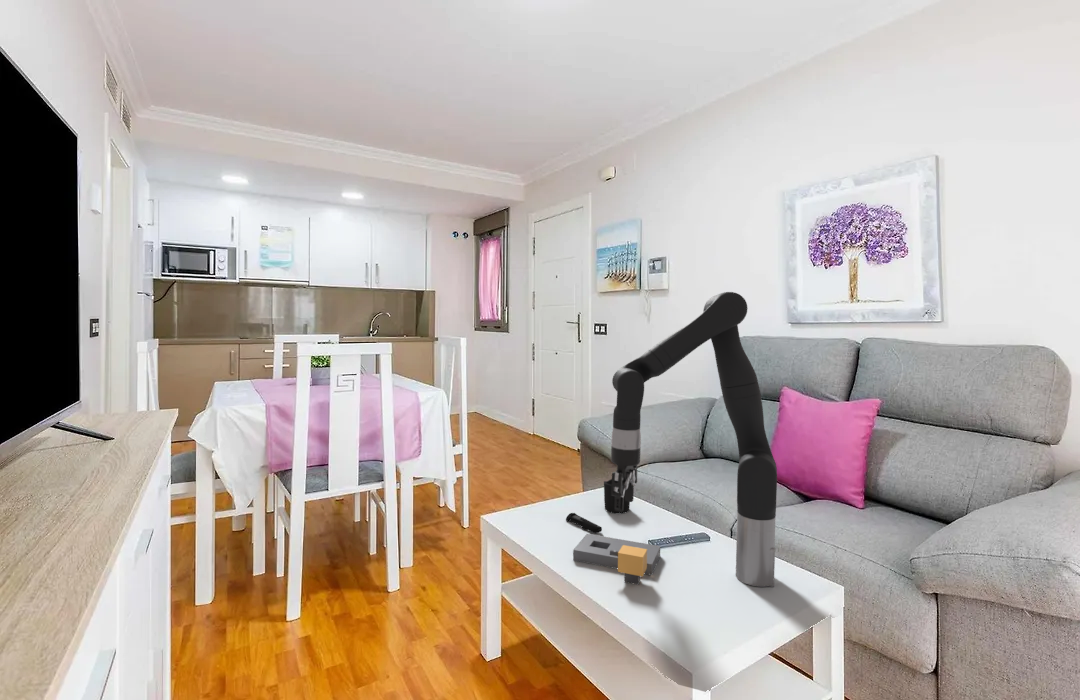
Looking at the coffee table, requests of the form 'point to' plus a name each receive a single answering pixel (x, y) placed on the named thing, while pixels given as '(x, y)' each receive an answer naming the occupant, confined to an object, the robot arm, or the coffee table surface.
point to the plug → (631, 562)
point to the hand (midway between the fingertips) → (624, 505)
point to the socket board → (599, 551)
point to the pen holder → (612, 499)
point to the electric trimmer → (583, 523)
